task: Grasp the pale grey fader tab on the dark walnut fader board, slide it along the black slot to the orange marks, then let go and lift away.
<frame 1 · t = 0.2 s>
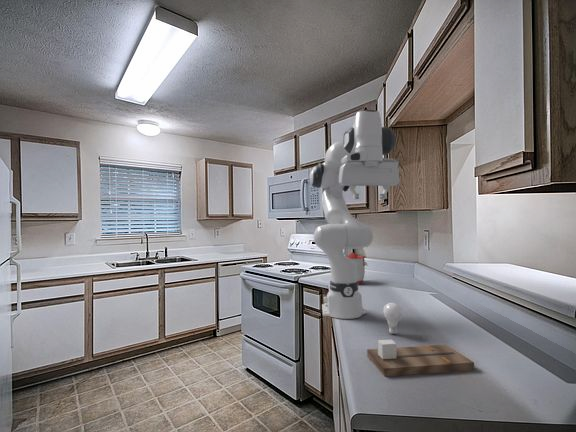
hand: (369, 199, 103), 47 cm above the counter, tool pointing down, fingers open, 8 cm apart
lightbulb: (392, 334, 109), on the counter
fader board: (417, 362, 87), on the counter
fader tab: (387, 349, 86), point 4 cm above the counter, slide at 0.0 cm
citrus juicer: (354, 283, 199), on the counter
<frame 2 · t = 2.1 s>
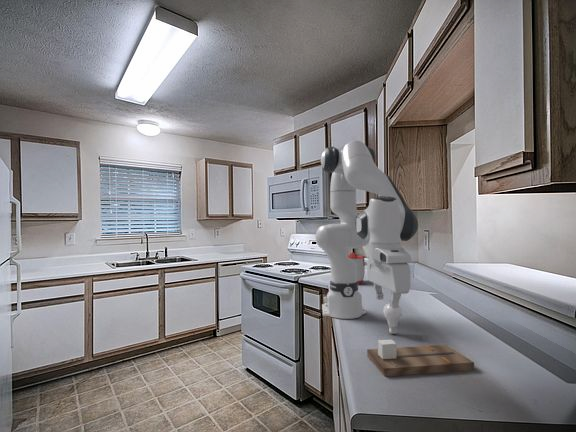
hand: (386, 303, 86), 17 cm above the counter, tool pointing down, fingers open, 8 cm apart
nothing on the counter moved.
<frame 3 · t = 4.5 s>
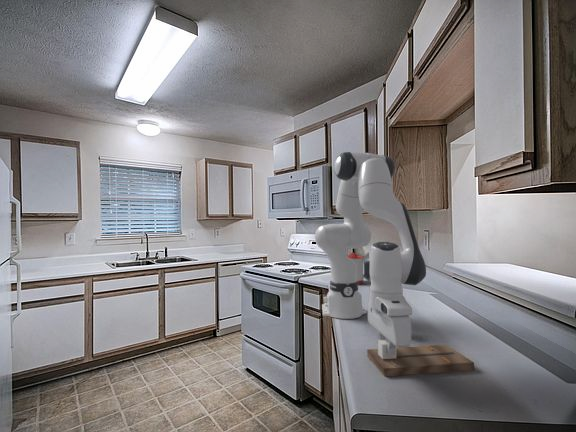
hand: (387, 350, 86), 4 cm above the counter, tool pointing down, fingers closed on fader tab, 3 cm apart
fader tab: (387, 349, 86), point 4 cm above the counter, slide at 0.0 cm, touching gripper
everything else where it was.
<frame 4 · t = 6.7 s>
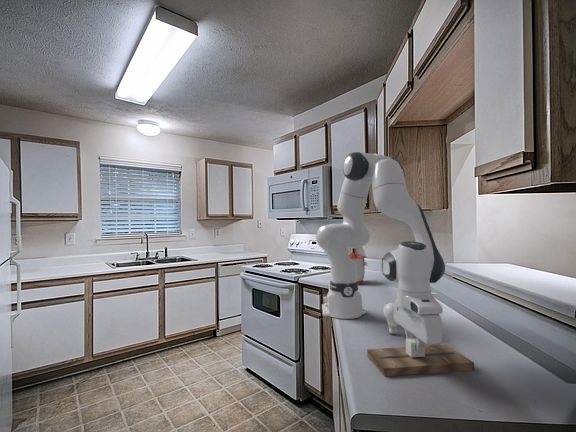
hand: (415, 348, 87), 4 cm above the counter, tool pointing down, fingers closed on fader tab, 3 cm apart
fader tab: (415, 347, 87), point 4 cm above the counter, slide at 8.3 cm, touching gripper
everything else where it was.
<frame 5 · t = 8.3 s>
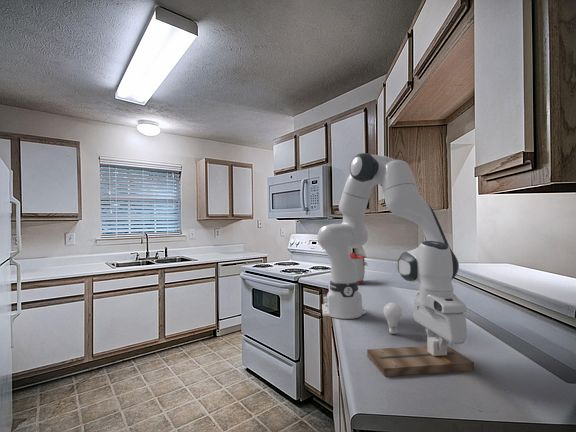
hand: (437, 347, 87), 4 cm above the counter, tool pointing down, fingers closed on fader tab, 3 cm apart
fader tab: (437, 346, 87), point 4 cm above the counter, slide at 14.9 cm, touching gripper
everything else where it was.
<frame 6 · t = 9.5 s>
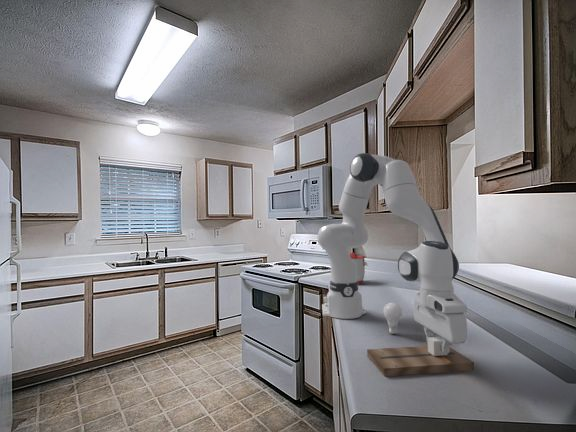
hand: (437, 347, 87), 4 cm above the counter, tool pointing down, fingers open, 5 cm apart
fader tab: (437, 346, 87), point 4 cm above the counter, slide at 15.0 cm
everything else where it was.
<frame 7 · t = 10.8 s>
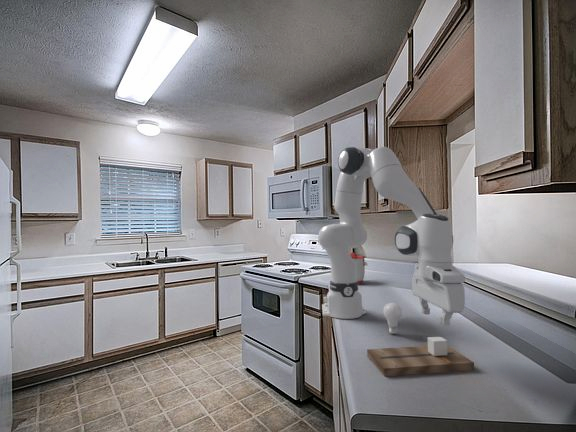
hand: (435, 319, 88), 12 cm above the counter, tool pointing down, fingers open, 8 cm apart
nothing on the counter moved.
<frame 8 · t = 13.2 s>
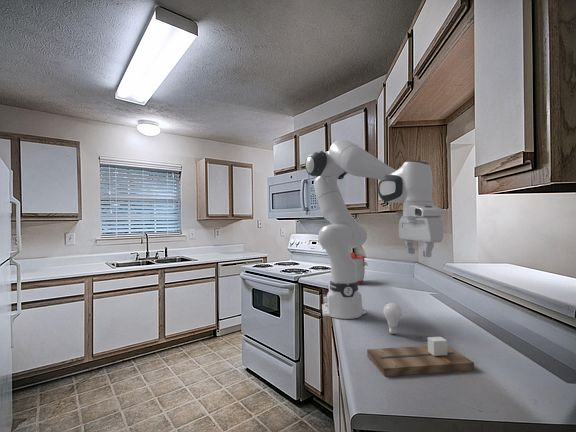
hand: (418, 255, 97), 29 cm above the counter, tool pointing down, fingers open, 8 cm apart
nothing on the counter moved.
at the end: fader tab slide at 15.0 cm; the gripper is holding nothing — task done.
